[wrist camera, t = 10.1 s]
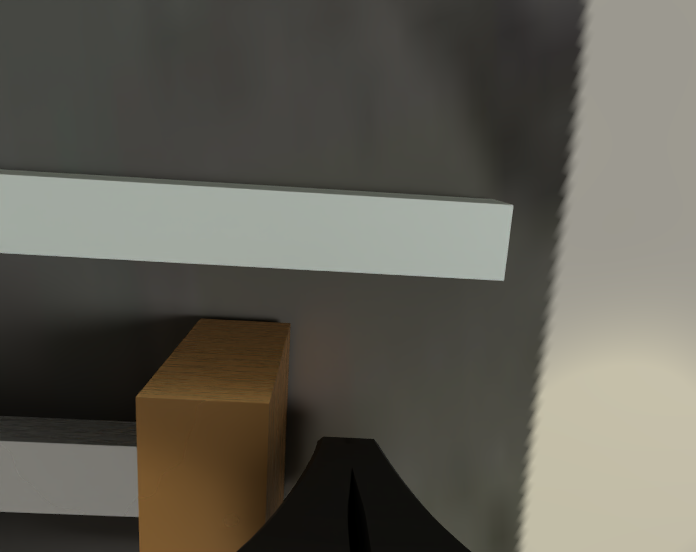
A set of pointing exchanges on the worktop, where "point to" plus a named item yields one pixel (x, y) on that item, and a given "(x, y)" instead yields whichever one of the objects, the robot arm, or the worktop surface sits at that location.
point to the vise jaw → (170, 446)
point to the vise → (252, 225)
